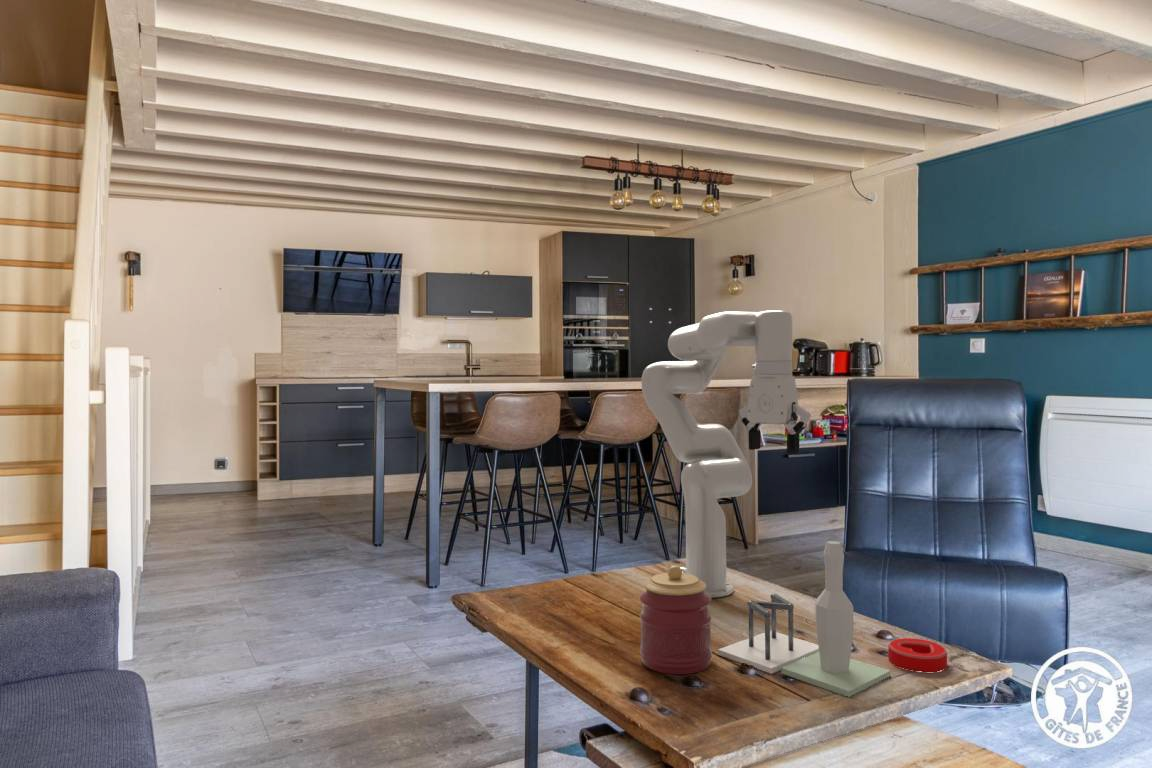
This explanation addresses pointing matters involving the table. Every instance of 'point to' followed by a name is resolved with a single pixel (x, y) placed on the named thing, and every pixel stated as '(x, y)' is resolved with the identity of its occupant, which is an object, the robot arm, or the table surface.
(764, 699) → the table surface
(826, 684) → the pale green flat panel
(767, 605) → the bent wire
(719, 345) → the robot arm
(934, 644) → the decorative ornament
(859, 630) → the table surface
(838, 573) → the faceted bottle
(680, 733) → the table surface
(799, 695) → the table surface
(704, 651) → the canister
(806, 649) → the wire board
